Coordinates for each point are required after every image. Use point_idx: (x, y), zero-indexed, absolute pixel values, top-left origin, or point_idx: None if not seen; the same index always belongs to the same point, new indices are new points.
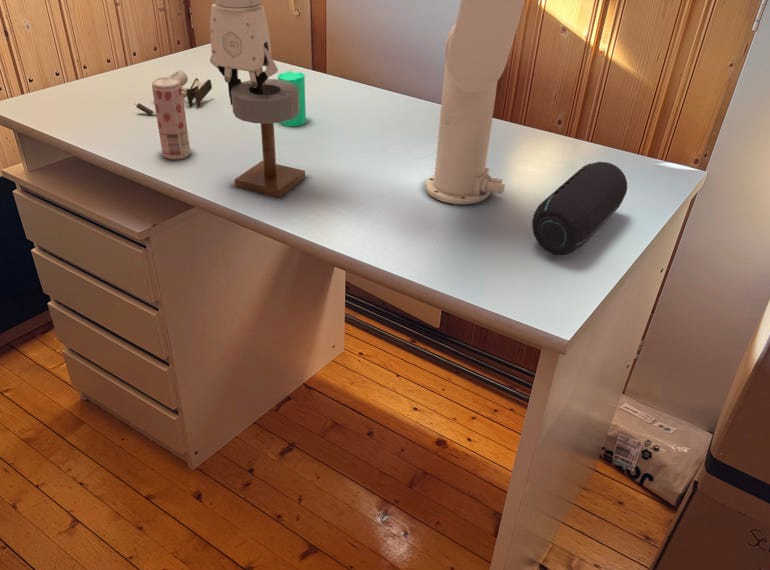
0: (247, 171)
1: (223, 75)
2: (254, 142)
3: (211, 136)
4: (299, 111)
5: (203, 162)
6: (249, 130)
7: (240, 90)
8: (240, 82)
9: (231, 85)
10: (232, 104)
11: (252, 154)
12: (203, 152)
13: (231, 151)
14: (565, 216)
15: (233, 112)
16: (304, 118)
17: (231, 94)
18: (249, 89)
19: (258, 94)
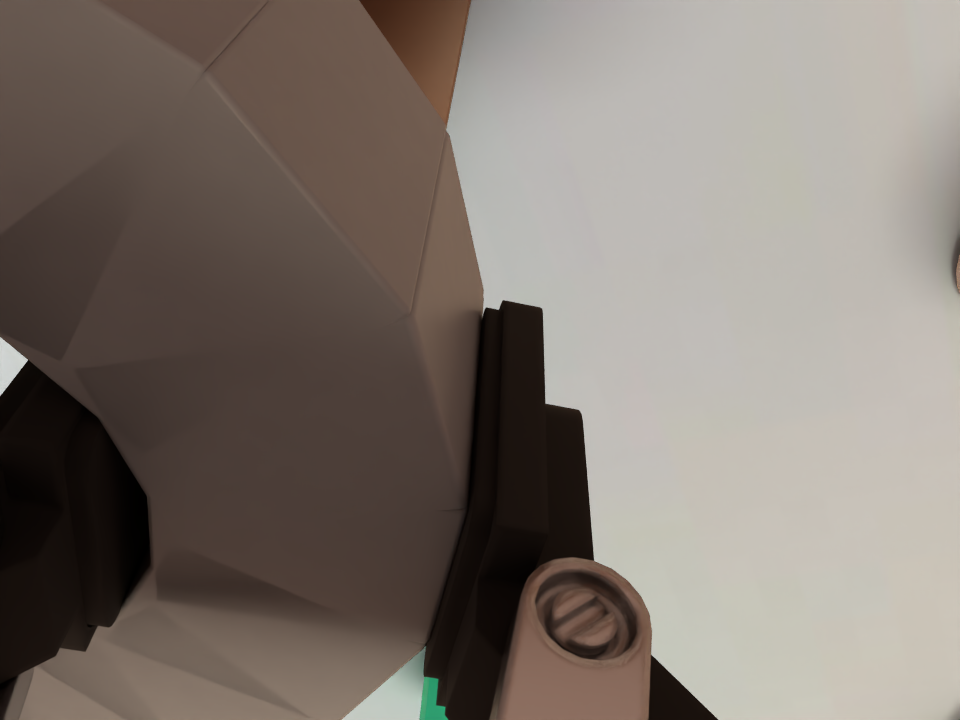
0: (455, 28)
1: (692, 705)
2: (593, 475)
3: (851, 491)
4: (433, 710)
5: (842, 179)
6: (660, 576)
7: (228, 362)
8: (428, 646)
9: (495, 512)
10: (418, 159)
11: (556, 350)
12: (866, 311)
13: (692, 358)
14: None
15: (418, 92)
16: (424, 686)
17: (399, 250)
18: (87, 429)
19: (7, 405)
